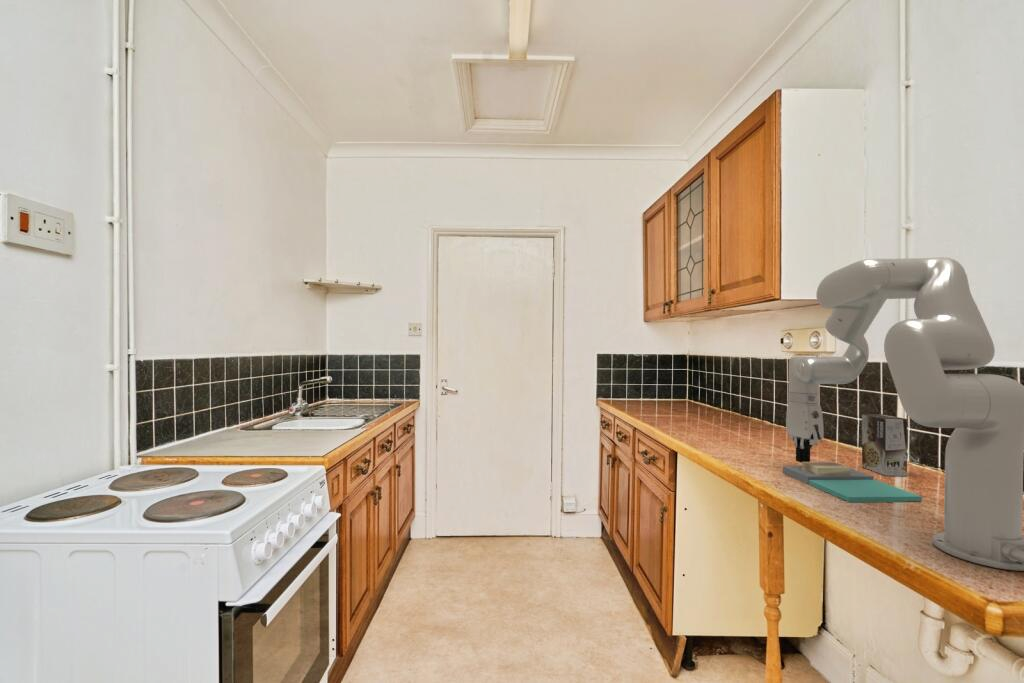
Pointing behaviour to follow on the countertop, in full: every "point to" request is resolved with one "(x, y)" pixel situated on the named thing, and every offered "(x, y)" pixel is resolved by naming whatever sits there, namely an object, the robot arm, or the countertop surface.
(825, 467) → the tile
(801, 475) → the board
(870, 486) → the mat
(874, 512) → the countertop surface
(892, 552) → the countertop surface
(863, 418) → the coffee box
